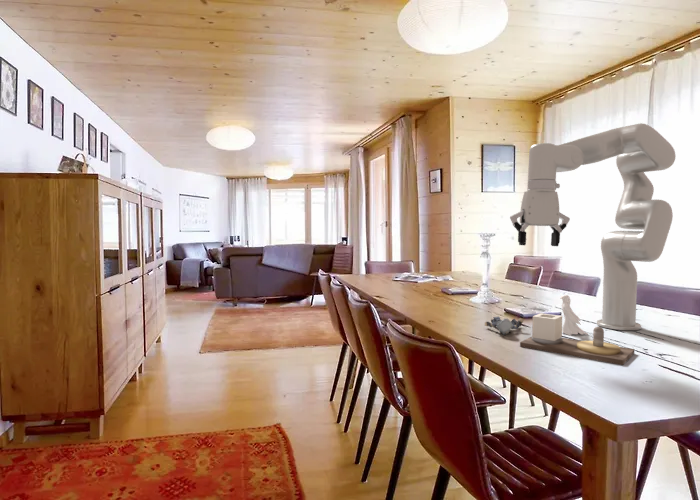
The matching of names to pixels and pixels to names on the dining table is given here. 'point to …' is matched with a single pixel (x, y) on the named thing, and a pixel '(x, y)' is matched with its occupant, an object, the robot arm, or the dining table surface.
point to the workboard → (583, 348)
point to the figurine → (570, 318)
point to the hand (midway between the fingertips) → (538, 245)
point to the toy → (504, 324)
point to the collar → (547, 327)
